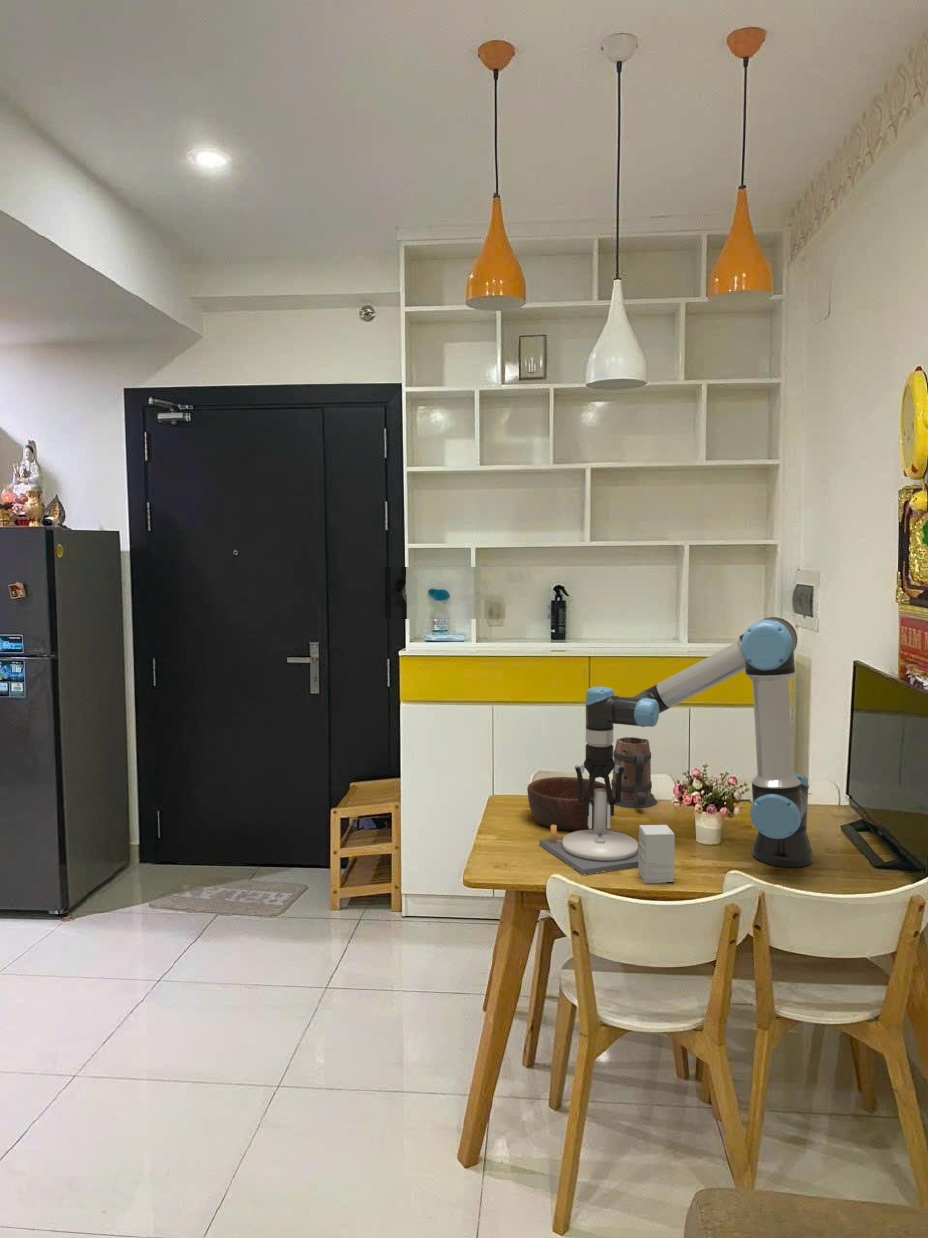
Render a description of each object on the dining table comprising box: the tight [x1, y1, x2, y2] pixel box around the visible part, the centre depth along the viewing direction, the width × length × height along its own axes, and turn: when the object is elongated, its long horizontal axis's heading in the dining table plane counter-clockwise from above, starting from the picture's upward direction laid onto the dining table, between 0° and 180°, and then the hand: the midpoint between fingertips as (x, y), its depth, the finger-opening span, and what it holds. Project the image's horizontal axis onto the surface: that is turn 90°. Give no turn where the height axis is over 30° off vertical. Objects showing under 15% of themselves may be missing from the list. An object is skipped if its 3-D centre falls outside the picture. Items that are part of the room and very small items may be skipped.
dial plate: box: [539, 825, 639, 876], centre depth 237 cm, size 24×24×6 cm
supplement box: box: [637, 824, 676, 884], centre depth 220 cm, size 7×7×13 cm
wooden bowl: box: [527, 776, 609, 832], centre depth 265 cm, size 25×25×10 cm
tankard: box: [610, 736, 658, 809], centre depth 283 cm, size 24×17×20 cm
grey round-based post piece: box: [563, 788, 639, 861], centre depth 237 cm, size 20×20×14 cm
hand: (598, 826), depth 244 cm, fingers open, 4 cm apart
